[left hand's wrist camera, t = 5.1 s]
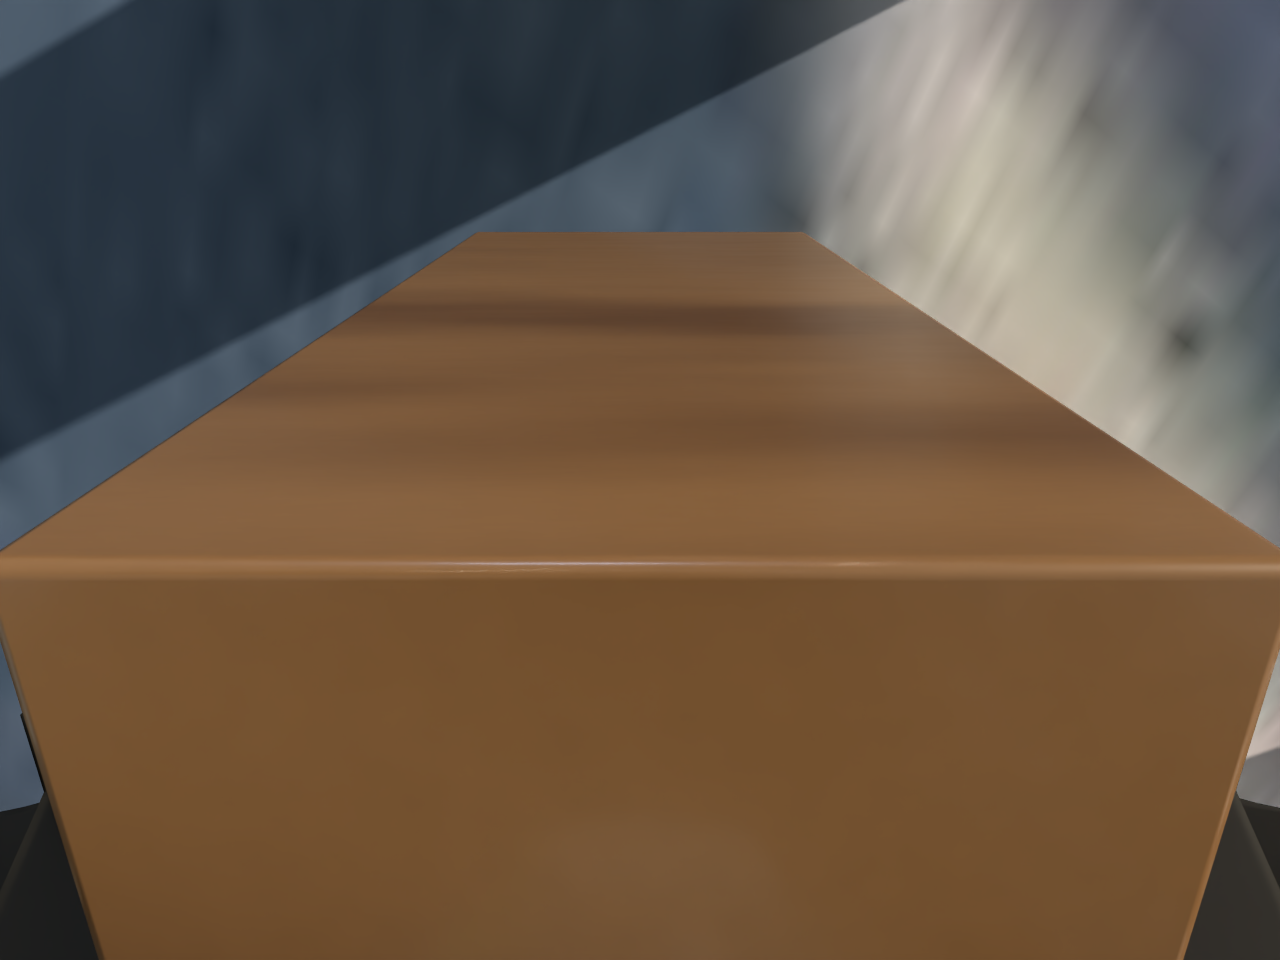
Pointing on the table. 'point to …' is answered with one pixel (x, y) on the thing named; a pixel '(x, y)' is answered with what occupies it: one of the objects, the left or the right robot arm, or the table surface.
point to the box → (640, 637)
